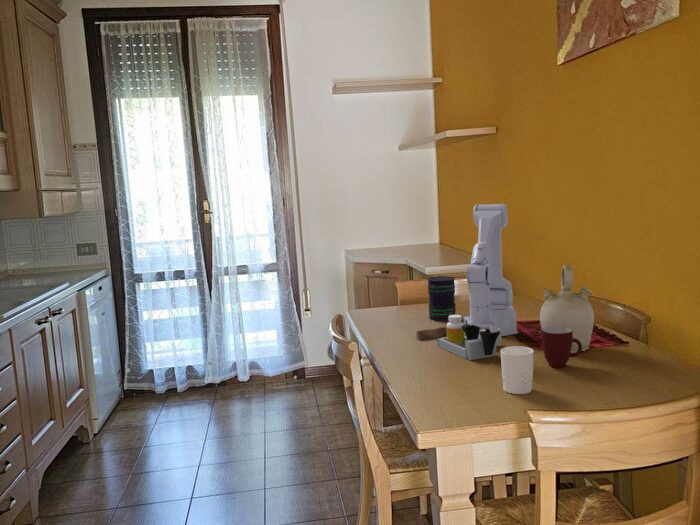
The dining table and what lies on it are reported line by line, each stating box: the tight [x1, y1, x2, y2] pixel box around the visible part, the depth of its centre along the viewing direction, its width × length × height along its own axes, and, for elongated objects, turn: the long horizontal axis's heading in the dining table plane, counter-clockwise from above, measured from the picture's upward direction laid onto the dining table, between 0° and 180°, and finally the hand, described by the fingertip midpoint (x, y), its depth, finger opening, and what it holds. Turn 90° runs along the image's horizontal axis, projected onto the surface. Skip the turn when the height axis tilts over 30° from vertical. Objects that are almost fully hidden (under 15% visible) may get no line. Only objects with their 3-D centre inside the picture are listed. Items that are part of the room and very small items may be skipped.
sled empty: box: [464, 328, 502, 348], centre depth 209 cm, size 6×19×5 cm, turn 23°
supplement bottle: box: [446, 314, 465, 348], centre depth 203 cm, size 5×5×10 cm
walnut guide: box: [416, 322, 466, 341], centre depth 208 cm, size 19×22×3 cm
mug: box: [540, 327, 582, 369], centre depth 178 cm, size 10×8×10 cm
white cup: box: [499, 345, 535, 395], centre depth 161 cm, size 8×8×10 cm
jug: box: [539, 264, 595, 354], centre depth 194 cm, size 15×16×25 cm
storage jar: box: [427, 275, 457, 322], centre depth 241 cm, size 10×10×15 cm
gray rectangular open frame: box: [436, 336, 497, 361], centre depth 198 cm, size 9×19×5 cm, turn 23°
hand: (480, 351), depth 191 cm, fingers open, 7 cm apart
